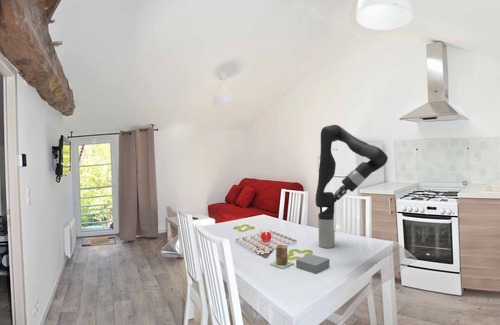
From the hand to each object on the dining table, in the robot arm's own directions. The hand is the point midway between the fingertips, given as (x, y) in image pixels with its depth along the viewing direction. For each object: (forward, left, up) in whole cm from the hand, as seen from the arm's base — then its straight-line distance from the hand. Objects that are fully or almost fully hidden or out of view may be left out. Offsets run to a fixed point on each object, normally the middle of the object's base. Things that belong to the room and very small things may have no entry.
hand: (330, 202), depth 167 cm
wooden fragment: (+7, -41, -33) cm, 53 cm away
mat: (+17, -19, -33) cm, 41 cm away
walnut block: (+17, -19, -32) cm, 41 cm away
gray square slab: (+9, -5, -33) cm, 34 cm away
